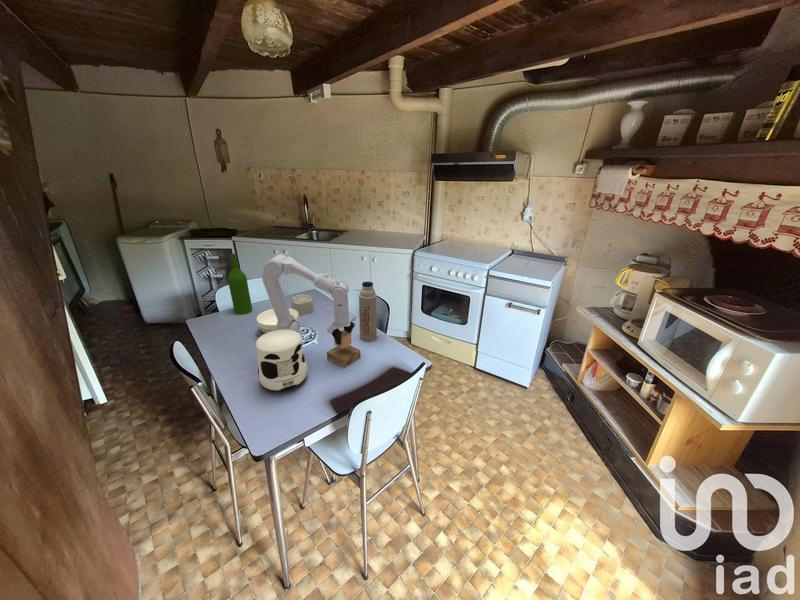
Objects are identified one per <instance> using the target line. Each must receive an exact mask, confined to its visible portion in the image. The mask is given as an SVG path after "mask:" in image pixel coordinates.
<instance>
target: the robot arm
mask: <svg viewBox="0 0 800 600" xmlns="http://www.w3.org/2000/svg"><path fill="white" fill-rule="evenodd" d="M262 269H263V273H262V282H263V283H262V284H263V285H264V288H265V291H266V293H267V296H268V299H269V301H270V303H271V306H272V309H274V312H275V314H276V317H277V320H278V321H277V330H282V329H287V330H293V331H296V332H298V333H299V330H300V328H301V326H300V323H299V321H298V322H297V321H296V319H295V317H294V316H293V315H291V314H290V311H289V309H288V308H289V307H288V303H287V301H286V298H285V295H284V292H283V290H282V287H281V284H280V281H279V278H280V277H281V276H282V274H283V276H284V275H285V276H286V275H290V274H295V275H297V276H299V277H301V278H303V279H306V280H308V281H311V282H312V283H313V285H314V286H315V287H316V288H318V289H320V290H321V291H323V292H325V293H328V294H329V295H331V297H332V300H333V310H334V311H333V314H334V321H333V322H332V323H331V324H330V325H329V326H328V327H327V328H326V329H327V333H328V334H331V335H332V337H333V340H334V339H335V342H336V344H338V345H340V344H341V335H342V331H341V330H340V329H341V328H343V330H344V331H347V332H349V333H351V334H352V331H353V329H354V327H355V326H356V325H355V324H356V323H355V322H354V321H356V319H357V317H356V315H353V314H350V313H349V310H350V309H349V298H348V295H349V294H348V293H349V291H350V290H349V289H350V287H349V285H348V284H347V283H346V282H345V281H343V280H341V281H339V280H338V279H337V280H336V279H334V278H332V277H330V276H329V274H328V273H317V272H314V271H313V270H311V269H309V268H308V267H306V266H305V265H303V264H301V263H300V262H298V261H297V260H295V259H294V258H293V257H291V256H288V255H287V254H285V253H278V254H276V255H275V256H274V257H272V258H271V259H269V260H268V261H266V262H265V264H264V265H263V266H262ZM305 355H306V353H304V352H303V356H304V357H305Z"/></svg>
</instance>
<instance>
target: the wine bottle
mask: <svg viewBox="0 0 800 600" xmlns="http://www.w3.org/2000/svg"><path fill="white" fill-rule="evenodd" d="M237 258H238V257H237V253H230V254H229V259H230V266H231V270H230V271H229V273H228V276H227V282H228V287H229V292H230V297H231V301H232V306H233V311H234V314H236V315H238V316H240V315H243V316H244V315H247V314H251V312H252V311H253V305H252V300H251V295H250V288H249V284H248V283H249V282H248V279H247V278H248V277H247V275H246V274H245V273H244V271H242V270H241V269H240V268H239V263H238V259H237Z"/></svg>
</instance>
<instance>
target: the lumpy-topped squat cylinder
mask: <svg viewBox="0 0 800 600" xmlns="http://www.w3.org/2000/svg"><path fill="white" fill-rule="evenodd" d="M290 300H291V301H290V302H291V309H294V310H296V311H297V312H298V317H300V316H305V315H310V314H313V313H314V306H313V305H314V304H313V299H312V297H311V295H310V294H304V293H301V294H300V293H299V294H295V295H294V296H293V297H292V298H291V299H290Z"/></svg>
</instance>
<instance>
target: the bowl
mask: <svg viewBox="0 0 800 600" xmlns="http://www.w3.org/2000/svg"><path fill="white" fill-rule="evenodd" d="M288 309H289V311H290V314H291V315H293V316H294V317H295V319H296V321H297V322H298V323H299V316H298V312H297V311H296V310H294V309H292V307H290V308H289V307H288ZM277 321H278V320H277V317H276V314H275V312H274V309H273V308H271V309H267V310H265V311H263V312H260V313H259V314H258V315H257V317H256V323H257V325H258V327H259V329H260V331H261V332H263V333H264V334H266V333H268V332H271V331H275V330H277Z"/></svg>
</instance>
